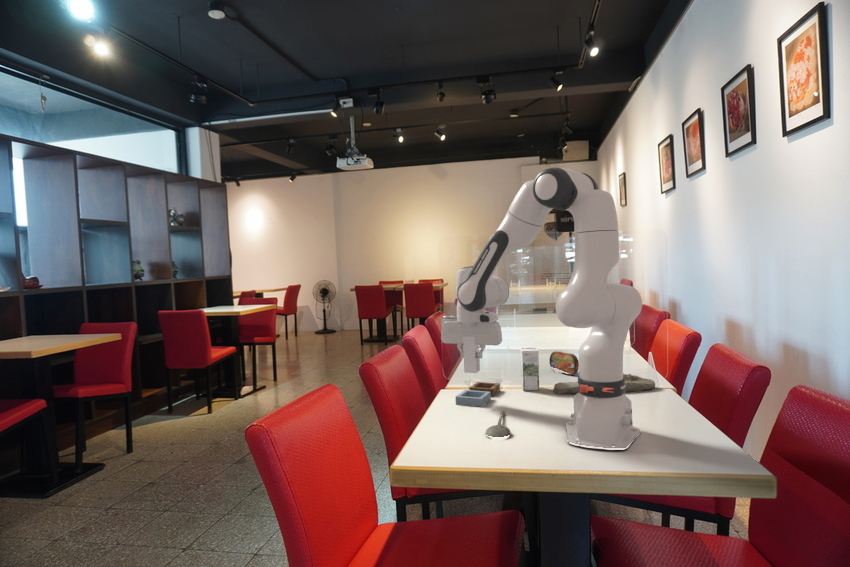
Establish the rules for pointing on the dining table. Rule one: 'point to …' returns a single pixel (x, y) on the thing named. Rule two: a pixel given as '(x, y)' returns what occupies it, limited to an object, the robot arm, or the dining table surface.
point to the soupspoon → (498, 428)
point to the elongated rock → (630, 385)
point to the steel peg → (470, 355)
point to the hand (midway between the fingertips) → (471, 357)
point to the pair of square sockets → (478, 394)
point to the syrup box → (530, 369)
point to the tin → (564, 362)
